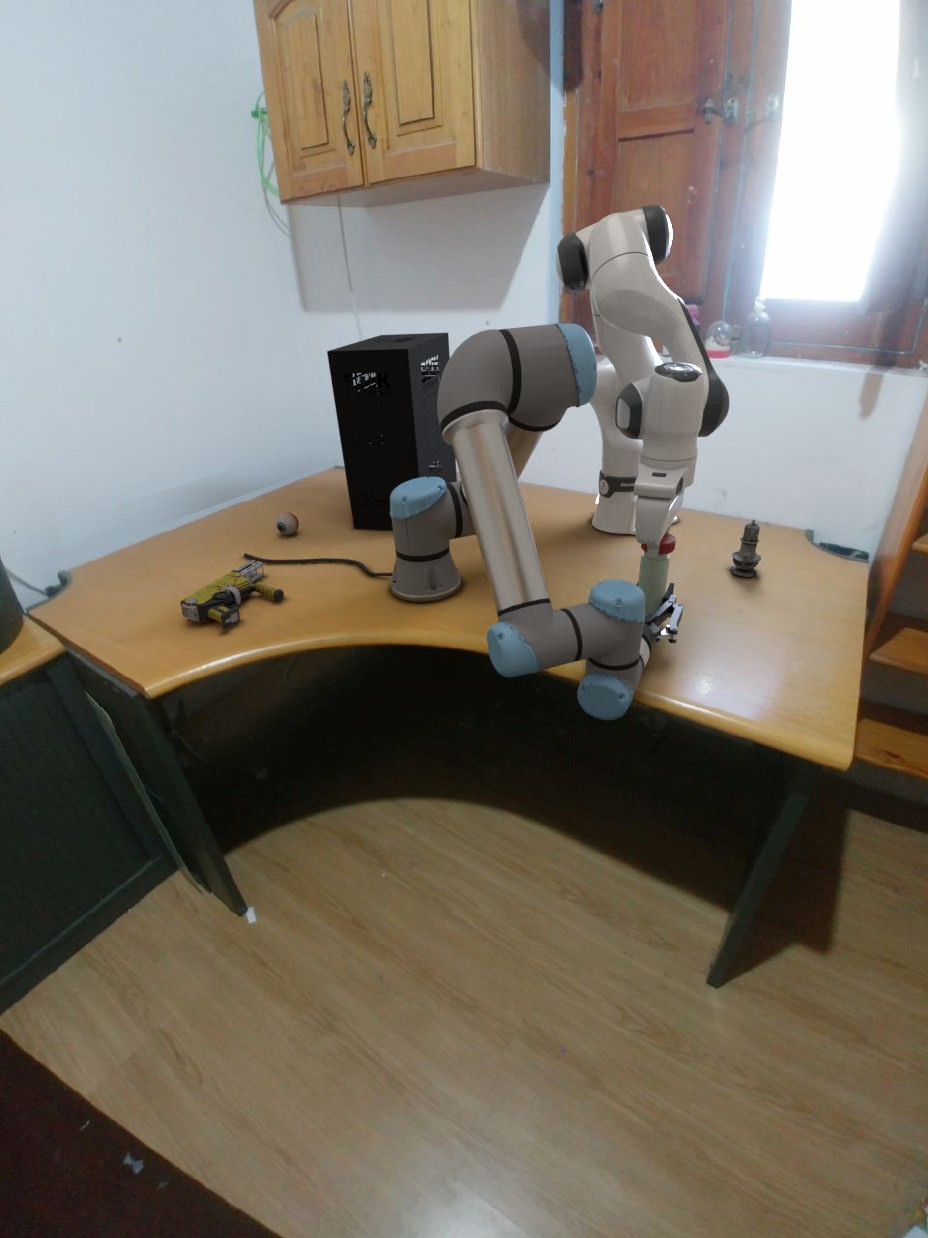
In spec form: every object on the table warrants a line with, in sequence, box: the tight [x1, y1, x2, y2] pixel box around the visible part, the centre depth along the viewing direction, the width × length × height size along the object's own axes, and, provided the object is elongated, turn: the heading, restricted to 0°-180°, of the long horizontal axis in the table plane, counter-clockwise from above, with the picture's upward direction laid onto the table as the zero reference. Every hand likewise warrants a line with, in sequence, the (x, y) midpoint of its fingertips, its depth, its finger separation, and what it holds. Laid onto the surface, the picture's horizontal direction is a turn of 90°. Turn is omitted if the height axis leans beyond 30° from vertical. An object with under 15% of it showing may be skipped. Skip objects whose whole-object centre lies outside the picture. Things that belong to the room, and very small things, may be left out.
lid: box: [640, 533, 676, 555], centre depth 105 cm, size 6×6×2 cm
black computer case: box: [326, 332, 458, 531], centre depth 169 cm, size 38×20×45 cm, turn 167°
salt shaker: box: [730, 519, 762, 578], centre depth 129 cm, size 6×6×12 cm
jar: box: [637, 550, 671, 630], centre depth 110 cm, size 5×5×17 cm
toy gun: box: [179, 559, 285, 630], centre depth 130 cm, size 5×24×15 cm
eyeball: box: [275, 511, 300, 536], centre depth 163 cm, size 6×6×6 cm
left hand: (656, 587), depth 115 cm, fingers closed on jar, 5 cm apart
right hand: (657, 549), depth 106 cm, fingers closed on lid, 5 cm apart
